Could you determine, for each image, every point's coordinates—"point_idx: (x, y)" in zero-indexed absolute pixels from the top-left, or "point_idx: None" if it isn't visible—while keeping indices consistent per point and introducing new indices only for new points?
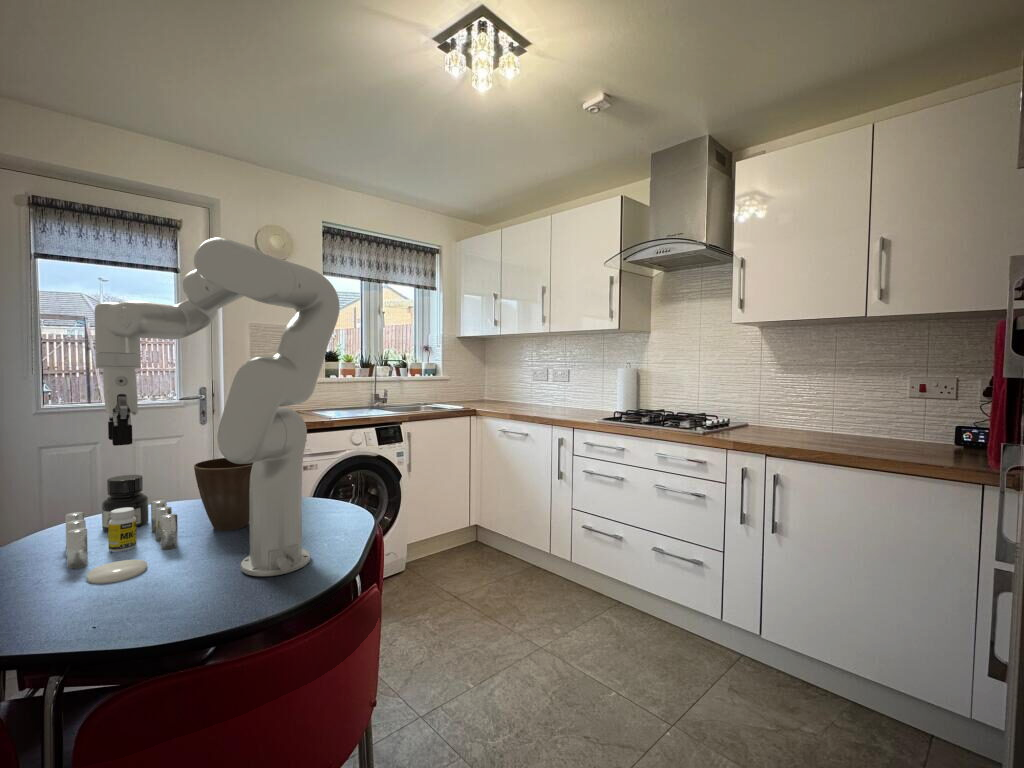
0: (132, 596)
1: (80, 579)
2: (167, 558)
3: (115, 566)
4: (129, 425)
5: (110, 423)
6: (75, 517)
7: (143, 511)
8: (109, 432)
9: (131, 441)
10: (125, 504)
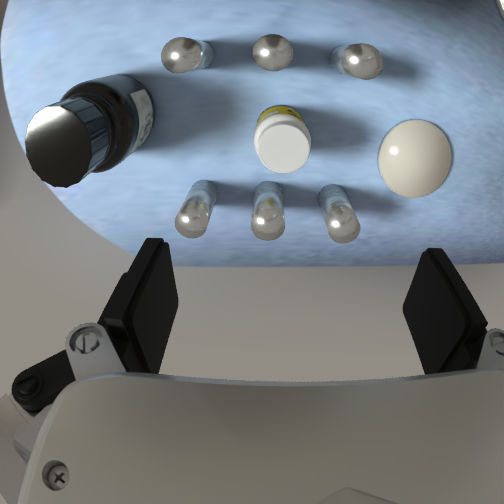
0: (500, 167)
1: (397, 200)
2: (404, 82)
3: (403, 160)
4: (494, 334)
5: (157, 373)
6: (207, 221)
7: (128, 86)
8: (169, 331)
9: (444, 256)
10: (132, 127)
